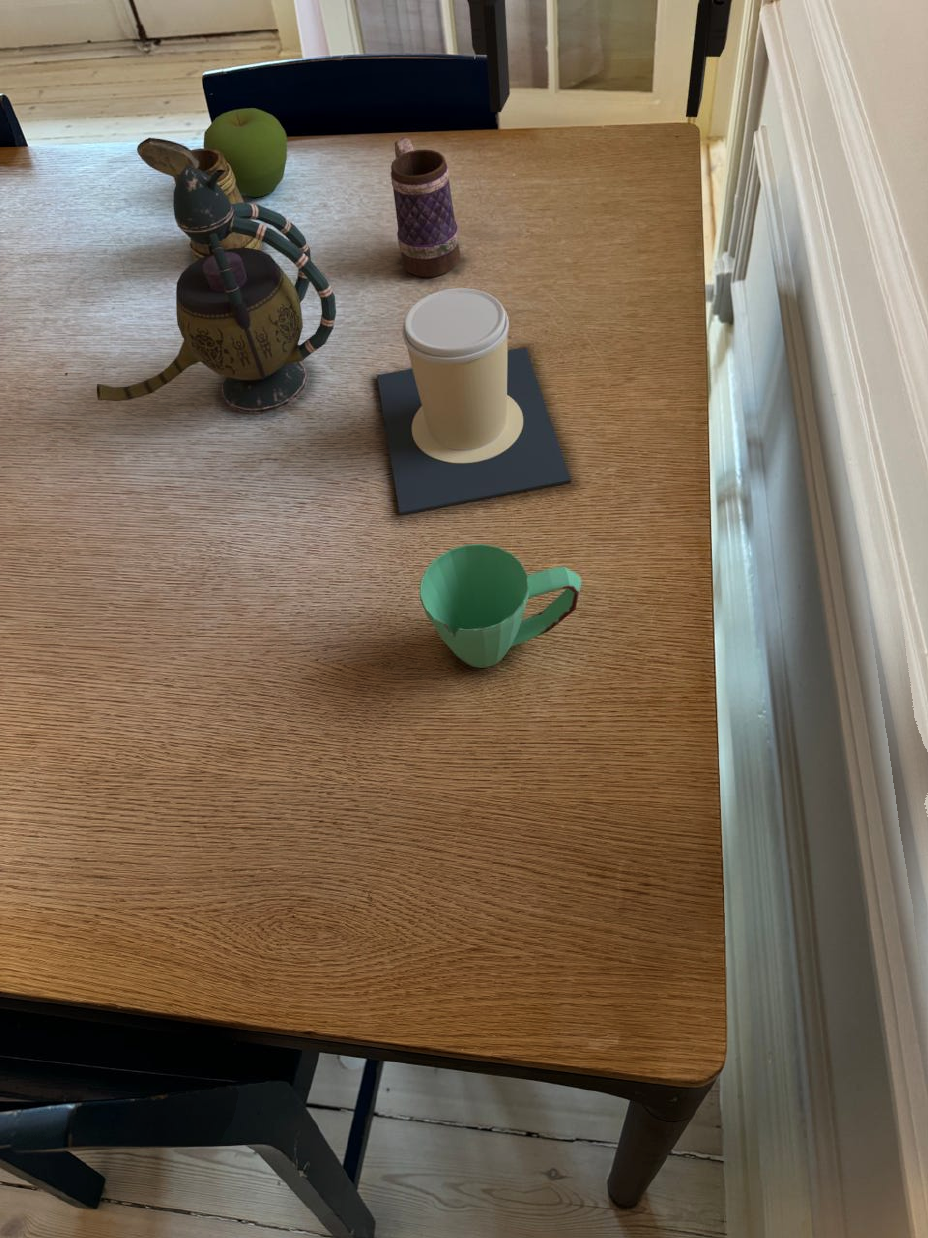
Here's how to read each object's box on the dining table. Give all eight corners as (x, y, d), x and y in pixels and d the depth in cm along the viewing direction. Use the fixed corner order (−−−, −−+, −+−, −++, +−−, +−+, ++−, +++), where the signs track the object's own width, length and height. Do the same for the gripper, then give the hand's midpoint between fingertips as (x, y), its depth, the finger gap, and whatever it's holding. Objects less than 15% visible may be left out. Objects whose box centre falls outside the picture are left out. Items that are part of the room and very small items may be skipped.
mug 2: (440, 698, 66) (426, 640, 60) (427, 616, 71) (412, 554, 64) (591, 670, 67) (594, 608, 60) (568, 590, 71) (568, 525, 65)
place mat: (571, 482, 78) (571, 478, 78) (400, 515, 78) (399, 511, 78) (526, 349, 90) (525, 345, 90) (377, 378, 90) (376, 374, 89)
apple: (204, 200, 115) (177, 123, 107) (257, 163, 119) (235, 86, 111) (261, 219, 111) (237, 140, 102) (314, 181, 115) (295, 102, 107)
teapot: (360, 391, 89) (305, 167, 70) (124, 469, 85) (-1, 255, 66) (329, 328, 96) (271, 108, 77) (110, 398, 92) (-8, 185, 73)
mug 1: (469, 269, 100) (458, 165, 90) (411, 285, 99) (394, 182, 89) (443, 226, 105) (430, 124, 96) (388, 241, 105) (370, 140, 95)
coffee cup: (529, 402, 84) (524, 295, 75) (491, 466, 80) (481, 361, 70) (445, 383, 87) (429, 277, 78) (403, 443, 83) (382, 339, 73)
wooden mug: (173, 294, 103) (107, 140, 88) (205, 231, 110) (149, 80, 96) (243, 293, 101) (188, 136, 87) (270, 229, 109) (224, 75, 94)
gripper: (347, -312, 43) (410, 126, 60) (873, -363, 37) (777, 137, 55) (393, -341, 47) (439, 77, 64) (874, -391, 41) (784, 83, 59)
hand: (594, 105), depth 60 cm, fingers open, 13 cm apart
